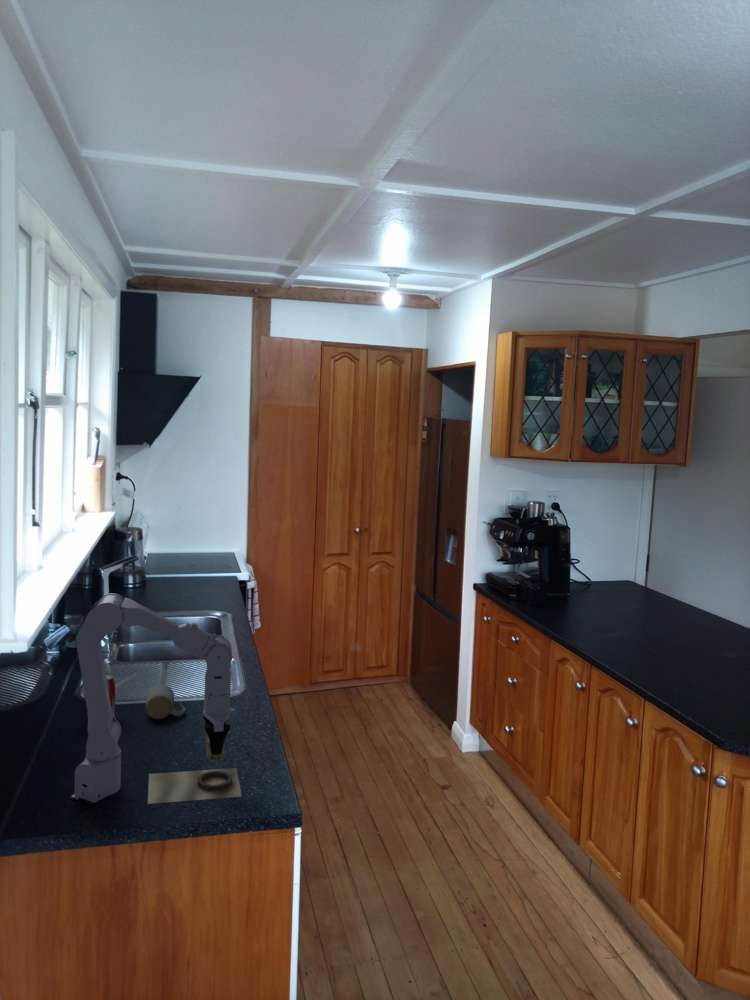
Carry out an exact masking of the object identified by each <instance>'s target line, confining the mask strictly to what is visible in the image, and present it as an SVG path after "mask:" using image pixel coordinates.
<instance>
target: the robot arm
mask: <svg viewBox="0 0 750 1000" xmlns="http://www.w3.org/2000/svg"><path fill="white" fill-rule="evenodd" d="M121 624H123V626H122V628H123V629H127V628H132V627H136V626H140V627H142V628H145V629H147V630H150V631H152V632H154V633H156V634H160V635H161V636H164V637H167V638H168V639H171V641H172V642H173V646H174V647H175V648H177V649H179V650H182V651H184V652H186V653H188V654H190V655H193V656H194V657H196V658H199V659H204V661H205V663H206V670H205V672H204V697H203V698H204V702H203V704H204V705H203V710H202V717H203V720H204V722H205V723H204V729H205V730H204V731H205V733H206V735H207V738H208V737H209V741H210V749H211V754H212V755H218V754H221V753H222V749H223V745H224V741H225V742H226V738H227V735H228V733H229V731H231V724H230V723H226V722H227V720H228V719H229V716H231V715H235V714H236V709H235V707H231V690H232V689H231V685H232V684H231V683H232V672H231V668H232V661H233V653H232V652H233V651H232V644H231V642H230V640H229V639H227V638H226V637H225V636H224V635H222V634H221V635H218V634H216V633H215V632H214V633H212V634H211V633H209V632H208V631H206V630H203V629H201V628H199V625H198V623H194V622H192V623H191V624H190V623H188V622H185V623H181V624H178V623H175V622H174V621H172V620H170V619H168V618H167V617H165V616H162V615H161V614H158V612H157V613H156V612H155V611H153V610H151V609H149V608H148V607H146V606H143V605H142V604H140V603H138V602H137V601H135V600H133V599H131V598H128V597H123V596H122V595H120V594H118V593H111V592H110V593H107V594H104V595H103V596H102V597H101V598H100V599H98V600H97V601H96V602H95V603H94V605H92V606H91V609H90V611H89V612H88V614H87V615H86V617H85V619H84V621H83V623H82V625H81V627H80V628H79V630H78V632H77V634H76V637H75V644H76V651H77V656H78V661H79V663H78V664H79V669H80V675H81V680H82V687H83V691H84V692H83V693H84V698H85V706H86V710H87V719H88V720H87V721H88V722H87V735H88V737H87V741H86V744H85V751H86V754H85V758H84V760H83V761H82V762H81V763H79V765H77V766H76V768H75V770H74V793H73V794H72V795H71V799H73V798H75V799H74V800H76V799H77V801H78V800H79V799H83V800H85V801H89V802H91V803H94V804H95V803H97V802H100V800H103V799H104V798H106V797H108V796H111V795H114V794H116V793H117V792H119V791H120V789H121V779H122V777H121V768H122V767H121V766H122V762H121V761H122V749H121V748H120V746H119V744H118V741H119V738H120V737H121V735H122V726H121V724H120V722H119V721H118V720H117V719H116V715H115V713H114V711H113V709H112V708H111V703H110V697H109V691H108V684H107V678H106V674H107V673H106V672H107V671H106V668H105V667H106V666H105V662H104V653H103V648H102V641H103V639H104V638H105V637H106V636H107V635H108V634H110V633H112V632H114V631H115V630H117V629H118V628H119V627H120V626H121Z"/></svg>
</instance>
